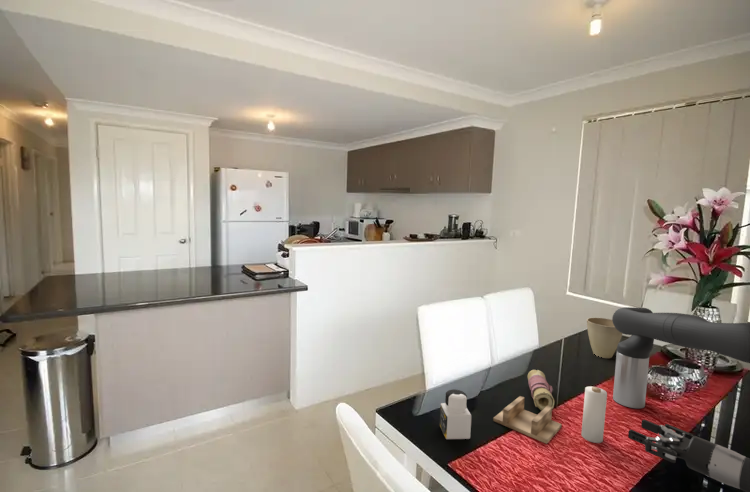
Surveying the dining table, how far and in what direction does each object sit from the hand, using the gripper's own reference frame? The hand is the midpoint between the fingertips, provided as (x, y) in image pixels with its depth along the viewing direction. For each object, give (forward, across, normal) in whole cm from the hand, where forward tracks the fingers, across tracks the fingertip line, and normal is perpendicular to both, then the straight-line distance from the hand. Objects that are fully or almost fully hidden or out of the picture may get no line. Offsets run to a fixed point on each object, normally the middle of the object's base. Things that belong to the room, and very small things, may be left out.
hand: (635, 428), depth 100 cm
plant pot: (+38, -73, +8) cm, 83 cm away
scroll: (+31, -9, +8) cm, 34 cm away
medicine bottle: (+34, +32, +8) cm, 47 cm away
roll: (+10, 0, +8) cm, 13 cm away
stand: (+25, +10, +8) cm, 28 cm away
